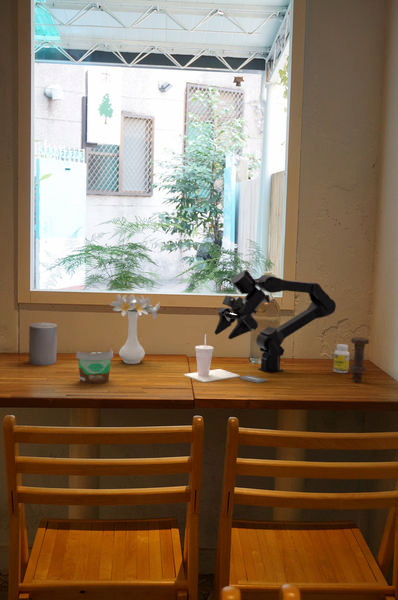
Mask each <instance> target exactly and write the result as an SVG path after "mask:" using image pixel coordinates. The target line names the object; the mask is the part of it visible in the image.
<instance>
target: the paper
mask: <svg viewBox="0 0 398 600" xmlns="http://www.w3.org/2000/svg"><path fill="white" fill-rule="evenodd" d="M183 376H185V377H187V378H189V379H193V380H196V381H199V382H201V383H209V382H214V381H221V380H226V379H232V378H239V377H241V375H239V374H238V373H233V372H230V371H228V370H224V369H221V368H216V369H210V370H209V375H208V376H199V375H198V371H197V372H196V371H195V372H189V373H184V374H183Z"/></svg>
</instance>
